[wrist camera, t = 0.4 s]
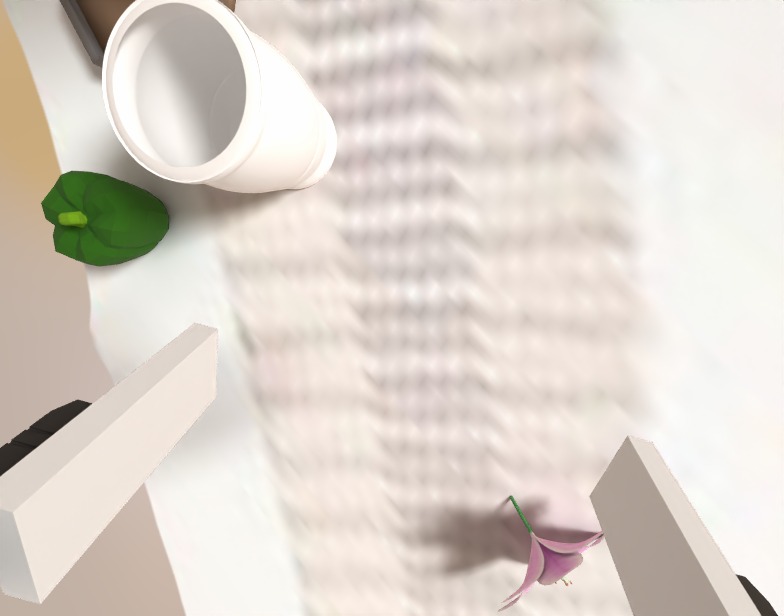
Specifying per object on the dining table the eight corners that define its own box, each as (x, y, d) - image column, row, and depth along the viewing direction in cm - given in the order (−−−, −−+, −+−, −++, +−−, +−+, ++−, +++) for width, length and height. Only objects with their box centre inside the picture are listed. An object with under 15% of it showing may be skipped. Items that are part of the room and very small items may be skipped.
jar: (225, 159, 39) (75, 118, 25) (276, 57, 36) (140, -56, 22) (311, 223, 38) (210, 219, 24) (371, 124, 36) (295, 52, 21)
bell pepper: (108, 246, 44) (4, 251, 34) (119, 170, 42) (11, 152, 32) (174, 272, 43) (85, 285, 33) (189, 196, 41) (98, 185, 31)
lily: (475, 559, 43) (522, 669, 34) (446, 493, 37) (493, 607, 28) (578, 511, 43) (648, 608, 35) (564, 439, 37) (645, 535, 29)
